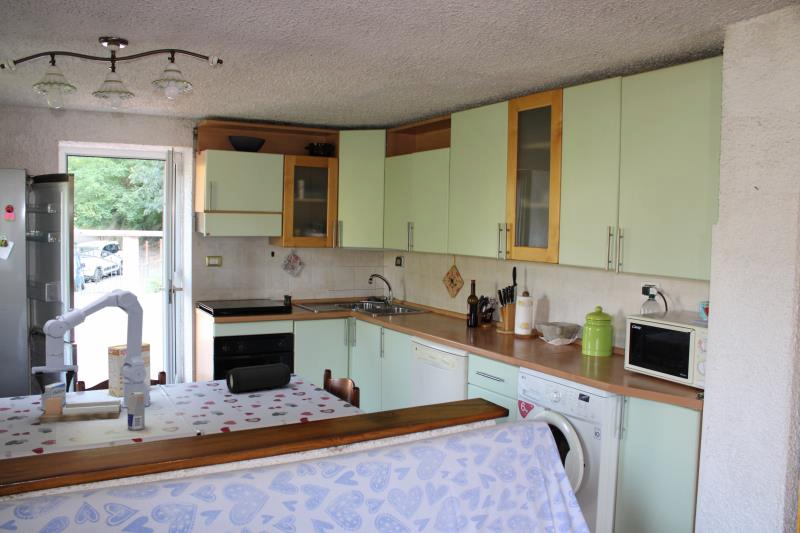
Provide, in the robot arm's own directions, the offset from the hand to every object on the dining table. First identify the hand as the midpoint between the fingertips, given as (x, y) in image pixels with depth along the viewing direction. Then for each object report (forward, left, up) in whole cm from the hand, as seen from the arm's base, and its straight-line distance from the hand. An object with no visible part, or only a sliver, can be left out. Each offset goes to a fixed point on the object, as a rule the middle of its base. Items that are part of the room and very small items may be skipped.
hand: (55, 392), depth 242 cm
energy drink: (-28, +20, -9) cm, 35 cm away
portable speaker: (-73, -27, -9) cm, 78 cm away
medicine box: (+3, -15, -9) cm, 18 cm away
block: (+1, 0, -7) cm, 7 cm away
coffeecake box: (-22, -33, -9) cm, 41 cm away
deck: (-8, 0, -9) cm, 12 cm away
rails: (-12, 0, -7) cm, 14 cm away
